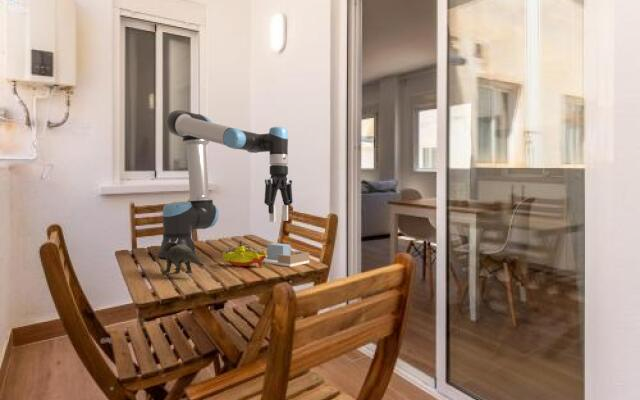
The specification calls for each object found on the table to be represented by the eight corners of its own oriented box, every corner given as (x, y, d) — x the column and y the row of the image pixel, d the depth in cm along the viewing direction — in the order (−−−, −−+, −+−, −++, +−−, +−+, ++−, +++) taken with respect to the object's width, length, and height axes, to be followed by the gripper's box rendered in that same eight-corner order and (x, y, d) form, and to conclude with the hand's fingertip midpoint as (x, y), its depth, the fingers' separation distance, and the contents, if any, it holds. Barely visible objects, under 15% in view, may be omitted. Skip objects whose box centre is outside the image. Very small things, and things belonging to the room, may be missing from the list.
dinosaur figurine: (206, 274, 132) (206, 242, 132) (184, 279, 126) (183, 244, 125) (175, 266, 146) (175, 237, 146) (153, 270, 140) (153, 239, 140)
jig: (228, 256, 169) (228, 247, 169) (248, 253, 178) (248, 245, 178) (290, 266, 146) (290, 256, 146) (309, 262, 155) (309, 252, 155)
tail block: (267, 258, 159) (267, 244, 159) (275, 257, 163) (275, 243, 162) (282, 260, 153) (282, 245, 153) (290, 259, 157) (290, 244, 157)
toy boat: (260, 269, 142) (260, 242, 142) (218, 266, 148) (218, 240, 147) (268, 266, 148) (268, 240, 148) (227, 263, 154) (227, 238, 154)
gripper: (267, 163, 147) (267, 223, 148) (301, 166, 163) (301, 220, 163) (254, 164, 152) (254, 222, 152) (288, 167, 167) (288, 219, 168)
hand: (278, 221), depth 158 cm, fingers open, 7 cm apart
